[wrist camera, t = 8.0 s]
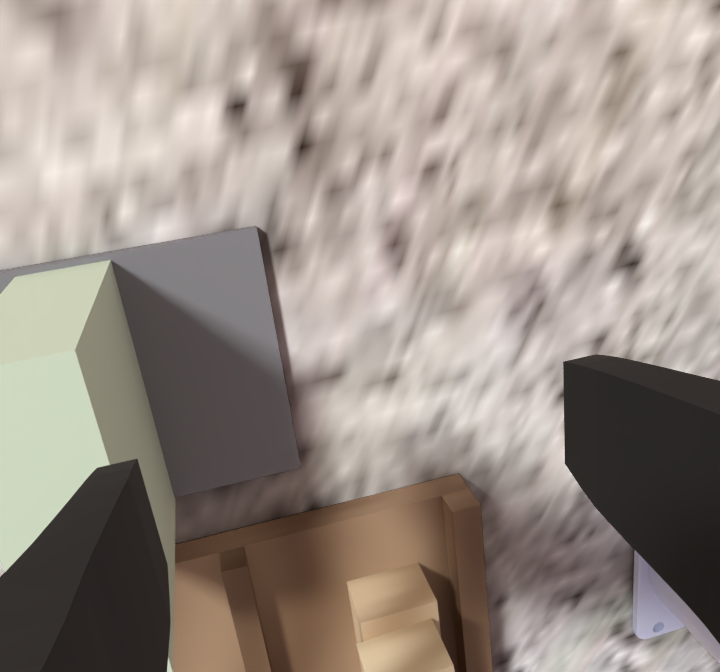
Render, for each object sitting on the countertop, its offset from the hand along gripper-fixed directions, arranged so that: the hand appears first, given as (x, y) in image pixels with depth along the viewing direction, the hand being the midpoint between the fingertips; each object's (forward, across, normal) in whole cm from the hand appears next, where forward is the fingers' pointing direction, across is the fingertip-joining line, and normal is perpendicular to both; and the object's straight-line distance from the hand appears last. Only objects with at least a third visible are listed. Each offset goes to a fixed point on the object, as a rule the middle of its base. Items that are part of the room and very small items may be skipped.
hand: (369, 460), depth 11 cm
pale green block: (+10, +6, +2) cm, 12 cm away
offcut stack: (+9, -2, +16) cm, 18 cm away
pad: (+10, +6, +2) cm, 12 cm away
